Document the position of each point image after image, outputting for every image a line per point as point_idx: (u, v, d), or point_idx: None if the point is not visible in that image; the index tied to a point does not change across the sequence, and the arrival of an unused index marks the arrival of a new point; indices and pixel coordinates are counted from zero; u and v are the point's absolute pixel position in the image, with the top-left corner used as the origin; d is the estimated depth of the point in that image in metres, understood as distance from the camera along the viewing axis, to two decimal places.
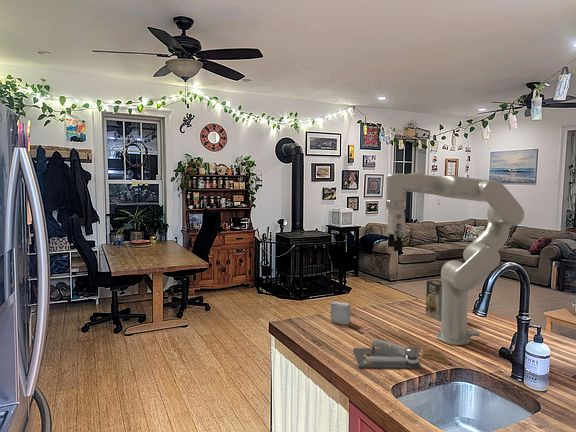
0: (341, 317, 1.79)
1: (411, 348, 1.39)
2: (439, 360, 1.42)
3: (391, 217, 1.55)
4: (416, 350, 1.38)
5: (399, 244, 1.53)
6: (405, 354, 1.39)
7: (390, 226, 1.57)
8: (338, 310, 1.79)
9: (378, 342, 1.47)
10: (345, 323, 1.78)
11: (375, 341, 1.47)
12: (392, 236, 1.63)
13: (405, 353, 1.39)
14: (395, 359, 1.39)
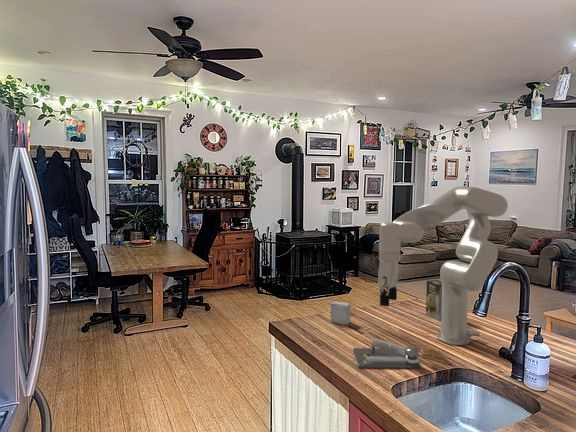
0: (341, 317, 1.79)
1: (411, 348, 1.39)
2: (439, 360, 1.42)
3: (397, 267, 1.50)
4: (416, 350, 1.38)
5: None
6: (405, 354, 1.39)
7: (396, 277, 1.50)
8: (338, 310, 1.79)
9: (378, 342, 1.47)
10: (345, 323, 1.78)
11: (375, 341, 1.47)
12: None
13: (405, 353, 1.39)
14: (395, 359, 1.39)
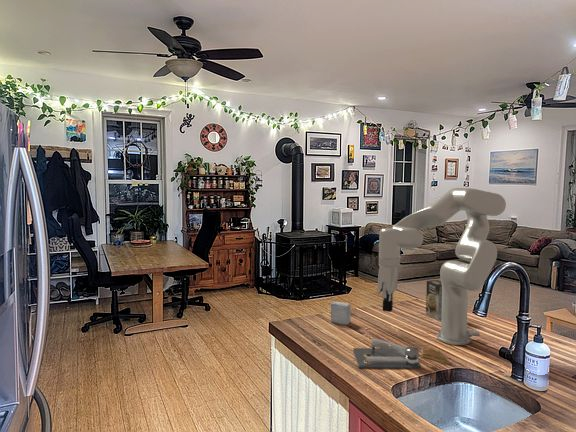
0: (341, 317, 1.79)
1: (411, 348, 1.39)
2: (439, 360, 1.42)
3: (397, 273, 1.50)
4: (416, 350, 1.38)
5: None
6: (405, 354, 1.39)
7: (396, 283, 1.50)
8: (338, 310, 1.79)
9: (378, 342, 1.47)
10: (345, 323, 1.78)
11: (375, 341, 1.47)
12: None
13: (405, 353, 1.39)
14: (395, 359, 1.39)
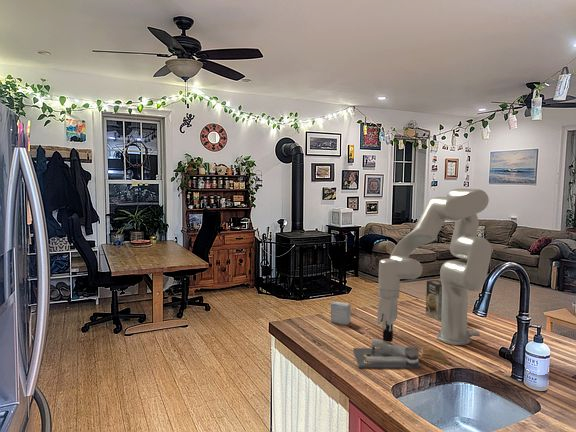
0: (341, 317, 1.79)
1: (411, 348, 1.39)
2: (439, 360, 1.42)
3: (396, 303, 1.51)
4: (416, 350, 1.38)
5: None
6: (405, 354, 1.39)
7: (395, 313, 1.51)
8: (338, 310, 1.79)
9: (378, 342, 1.47)
10: (345, 323, 1.78)
11: (375, 341, 1.47)
12: None
13: (405, 353, 1.39)
14: (395, 359, 1.39)
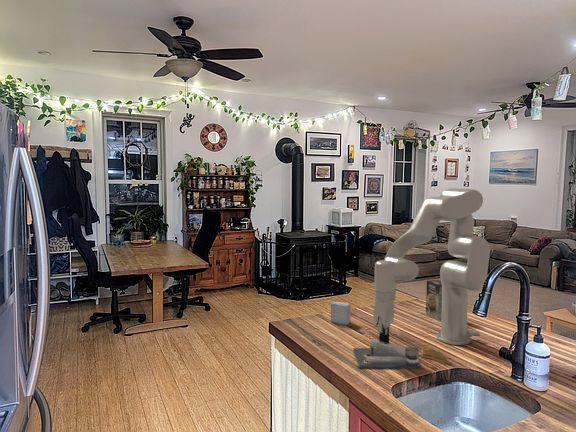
0: (341, 317, 1.79)
1: (411, 348, 1.39)
2: (439, 360, 1.42)
3: (393, 305, 1.48)
4: (416, 350, 1.38)
5: None
6: (405, 354, 1.39)
7: (392, 316, 1.47)
8: (338, 310, 1.79)
9: (377, 343, 1.46)
10: (345, 323, 1.78)
11: (374, 342, 1.47)
12: None
13: (405, 353, 1.39)
14: (395, 359, 1.39)
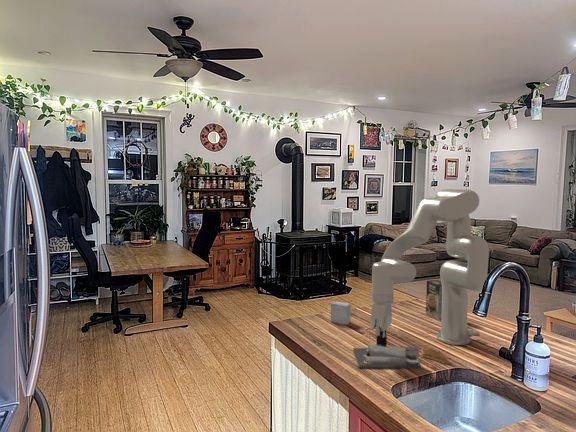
0: (341, 317, 1.79)
1: (411, 348, 1.39)
2: (439, 360, 1.42)
3: (391, 308, 1.46)
4: (416, 349, 1.38)
5: None
6: (406, 355, 1.38)
7: (389, 319, 1.45)
8: (338, 310, 1.79)
9: (375, 346, 1.43)
10: (345, 323, 1.78)
11: (371, 346, 1.43)
12: None
13: (406, 354, 1.38)
14: (395, 359, 1.39)
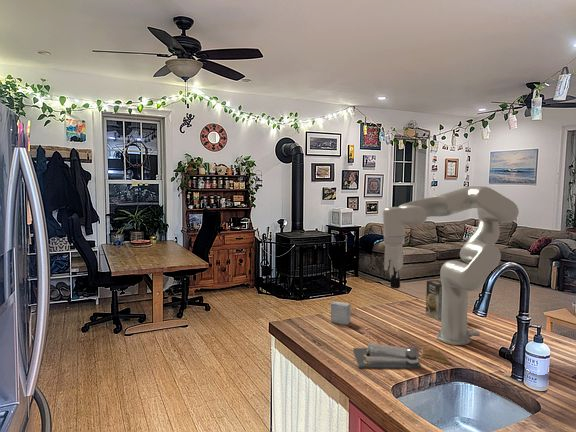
0: (341, 317, 1.79)
1: (411, 348, 1.39)
2: (439, 360, 1.42)
3: (402, 250, 1.54)
4: (416, 349, 1.38)
5: None
6: (406, 355, 1.38)
7: (402, 260, 1.53)
8: (338, 310, 1.79)
9: (375, 346, 1.43)
10: (345, 323, 1.78)
11: (371, 346, 1.43)
12: None
13: (406, 354, 1.38)
14: (395, 359, 1.39)
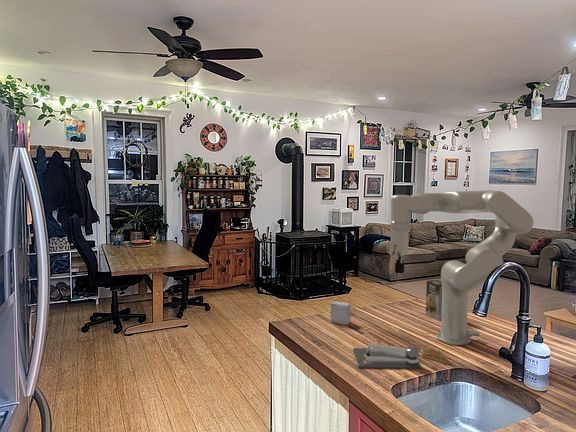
0: (341, 317, 1.79)
1: (411, 348, 1.39)
2: (439, 360, 1.42)
3: None
4: (416, 349, 1.38)
5: None
6: (406, 355, 1.38)
7: (407, 246, 1.59)
8: (338, 310, 1.79)
9: (375, 346, 1.43)
10: (345, 323, 1.78)
11: (371, 346, 1.43)
12: None
13: (406, 354, 1.38)
14: (395, 359, 1.39)
